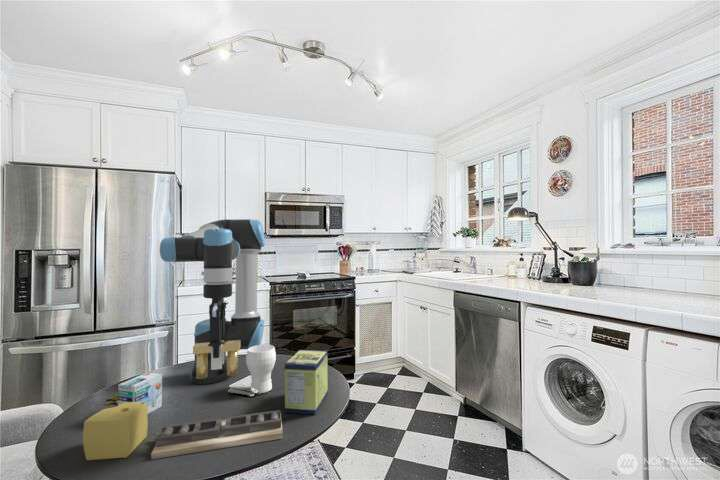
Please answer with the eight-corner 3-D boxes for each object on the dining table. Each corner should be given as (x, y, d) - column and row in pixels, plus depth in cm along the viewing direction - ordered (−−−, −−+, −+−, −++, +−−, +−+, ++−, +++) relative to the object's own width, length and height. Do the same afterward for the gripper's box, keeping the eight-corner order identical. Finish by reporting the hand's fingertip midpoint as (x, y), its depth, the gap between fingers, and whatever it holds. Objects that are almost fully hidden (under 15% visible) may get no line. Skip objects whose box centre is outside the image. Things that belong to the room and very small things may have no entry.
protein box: (328, 393, 120) (327, 350, 120) (316, 415, 105) (315, 365, 105) (300, 391, 122) (299, 348, 122) (284, 413, 106) (283, 363, 107)
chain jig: (164, 433, 95) (165, 420, 95) (280, 417, 104) (280, 405, 104) (151, 459, 83) (151, 444, 84) (282, 438, 92) (282, 424, 92)
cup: (267, 396, 118) (267, 353, 118) (240, 394, 120) (240, 352, 120) (280, 384, 128) (280, 344, 129) (255, 382, 130) (255, 343, 131)
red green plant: (96, 409, 110) (96, 395, 110) (113, 394, 122) (113, 381, 122) (137, 405, 113) (137, 391, 113) (150, 390, 125) (150, 377, 125)
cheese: (109, 438, 93) (109, 402, 93) (150, 436, 94) (150, 400, 94) (81, 462, 83) (82, 421, 83) (127, 459, 84) (127, 419, 84)
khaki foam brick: (195, 375, 95) (195, 343, 95) (240, 371, 98) (240, 340, 98) (192, 380, 91) (192, 346, 91) (239, 375, 94) (239, 343, 95)
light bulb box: (134, 422, 101) (134, 386, 102) (116, 419, 103) (116, 384, 103) (163, 405, 112) (163, 373, 112) (146, 403, 113) (146, 371, 114)
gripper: (208, 281, 102) (208, 358, 102) (197, 286, 86) (196, 378, 86) (235, 280, 104) (234, 356, 103) (228, 285, 88) (228, 375, 87)
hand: (217, 366), depth 94 cm, fingers closed on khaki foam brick, 3 cm apart
